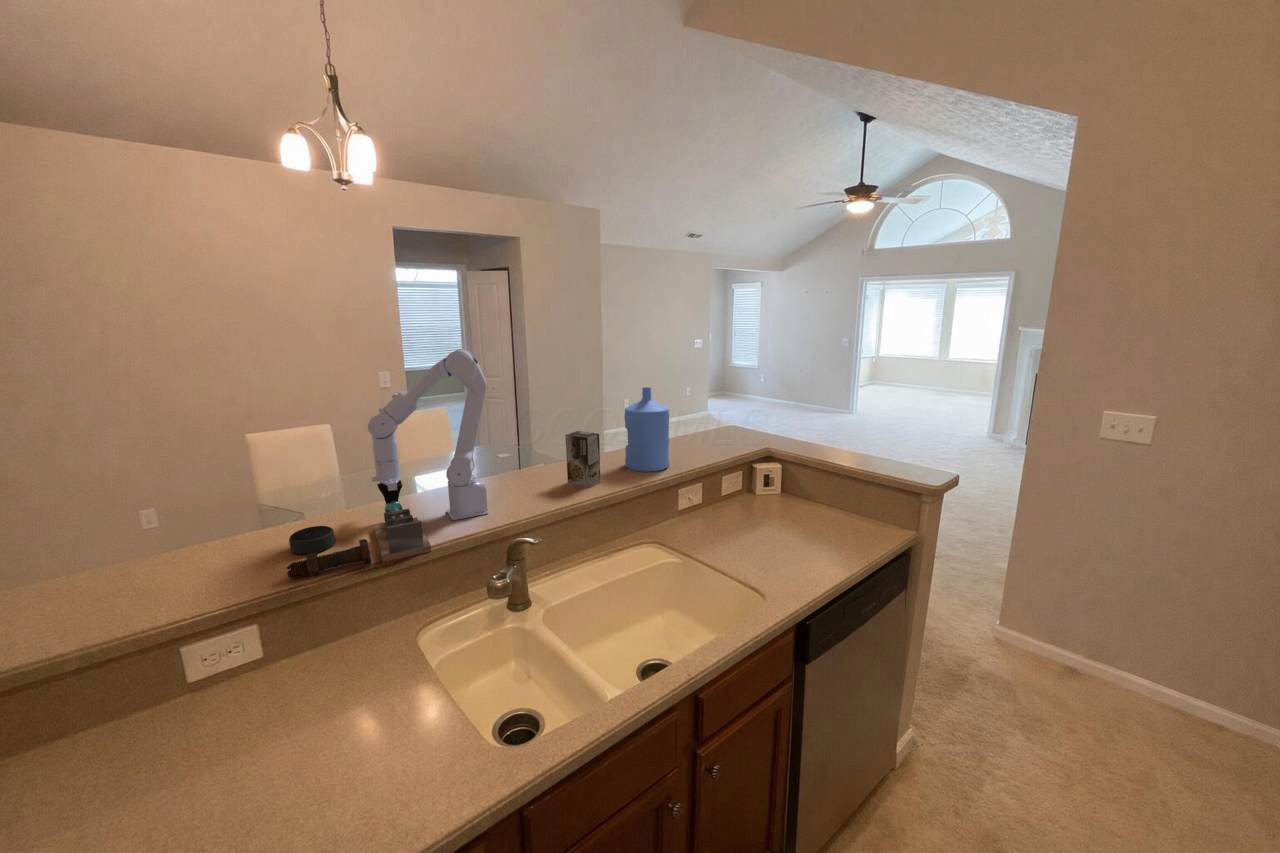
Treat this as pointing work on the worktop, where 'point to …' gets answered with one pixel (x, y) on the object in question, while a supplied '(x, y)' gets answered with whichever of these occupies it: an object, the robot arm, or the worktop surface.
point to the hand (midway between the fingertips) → (392, 509)
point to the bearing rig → (401, 536)
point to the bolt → (330, 561)
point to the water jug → (647, 434)
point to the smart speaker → (312, 540)
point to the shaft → (393, 508)
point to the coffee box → (583, 458)
